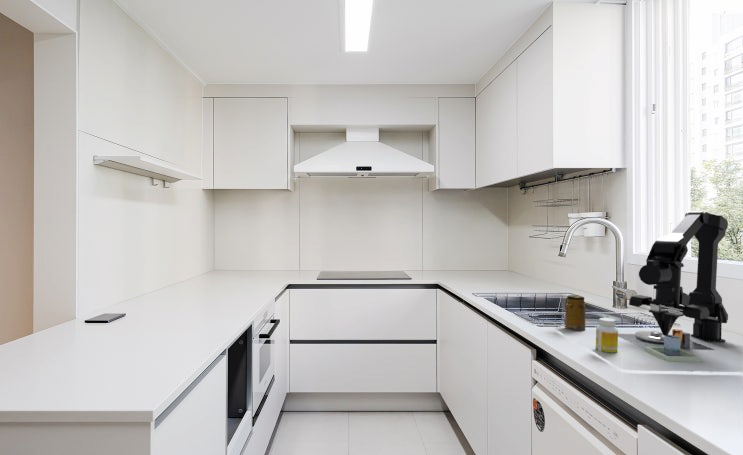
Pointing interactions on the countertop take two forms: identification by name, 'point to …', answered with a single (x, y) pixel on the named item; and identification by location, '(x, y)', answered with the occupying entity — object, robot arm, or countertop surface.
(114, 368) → the countertop surface
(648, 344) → the crank base
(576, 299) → the condiment
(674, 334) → the crank
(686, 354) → the tray
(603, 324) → the supplement bottle
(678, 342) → the blue gray block
